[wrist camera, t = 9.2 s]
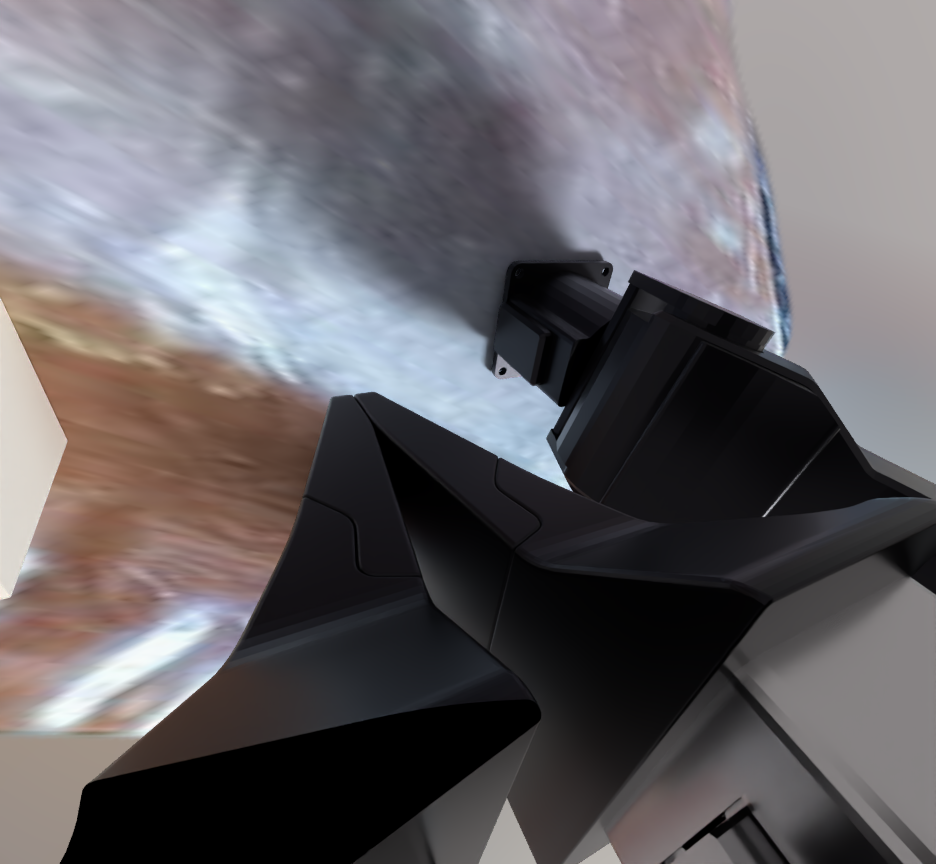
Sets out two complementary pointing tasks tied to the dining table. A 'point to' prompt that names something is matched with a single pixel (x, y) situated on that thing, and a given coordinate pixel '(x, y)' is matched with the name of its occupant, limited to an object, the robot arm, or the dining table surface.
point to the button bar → (22, 452)
